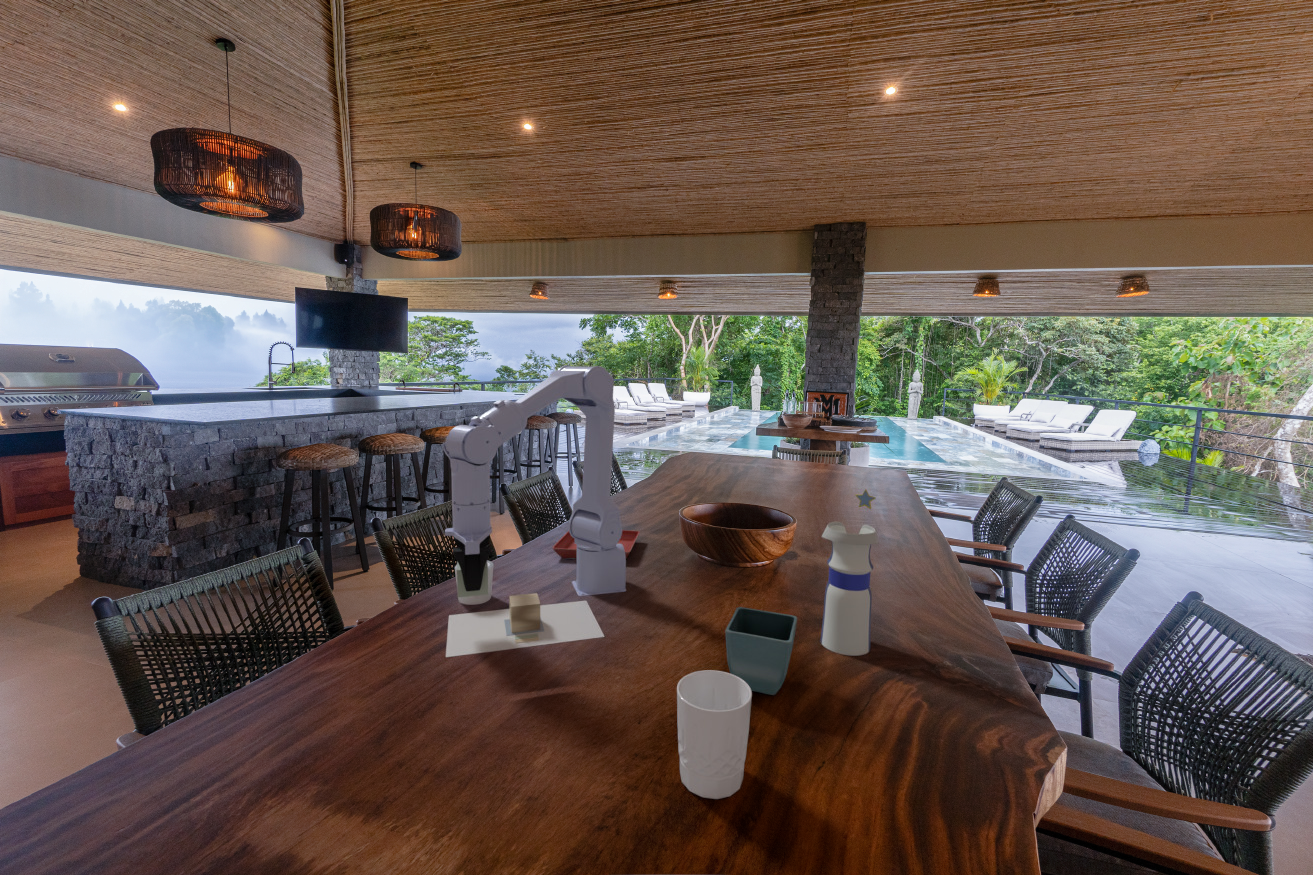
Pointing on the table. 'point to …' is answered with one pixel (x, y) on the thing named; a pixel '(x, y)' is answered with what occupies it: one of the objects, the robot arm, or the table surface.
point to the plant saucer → (569, 548)
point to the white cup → (712, 732)
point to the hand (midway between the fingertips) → (473, 584)
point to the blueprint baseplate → (496, 635)
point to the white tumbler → (480, 598)
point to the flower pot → (760, 647)
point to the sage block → (463, 593)
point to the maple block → (524, 612)
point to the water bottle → (848, 588)
